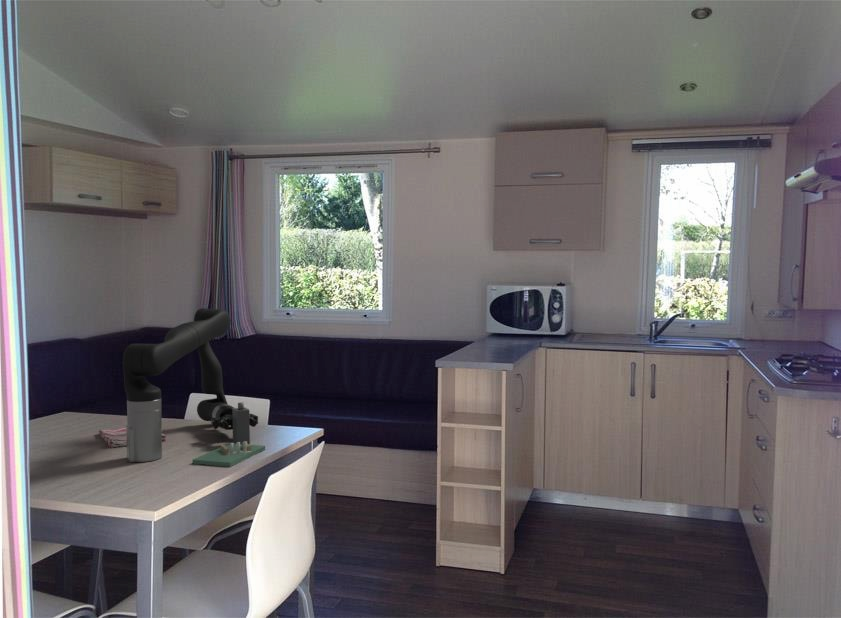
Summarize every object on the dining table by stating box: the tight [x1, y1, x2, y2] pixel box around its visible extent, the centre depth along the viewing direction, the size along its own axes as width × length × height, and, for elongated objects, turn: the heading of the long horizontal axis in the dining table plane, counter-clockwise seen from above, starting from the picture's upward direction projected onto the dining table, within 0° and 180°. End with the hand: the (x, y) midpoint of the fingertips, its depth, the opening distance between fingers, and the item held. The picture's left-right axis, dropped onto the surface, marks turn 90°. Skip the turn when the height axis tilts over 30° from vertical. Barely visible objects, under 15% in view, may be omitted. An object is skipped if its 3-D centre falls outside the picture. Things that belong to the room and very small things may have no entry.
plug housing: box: [232, 401, 251, 445], centre depth 219 cm, size 4×5×13 cm
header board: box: [191, 441, 266, 468], centre depth 203 cm, size 20×12×4 cm, turn 165°
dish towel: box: [98, 427, 167, 448], centre depth 227 cm, size 17×23×4 cm
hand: (241, 425), depth 218 cm, fingers open, 8 cm apart
